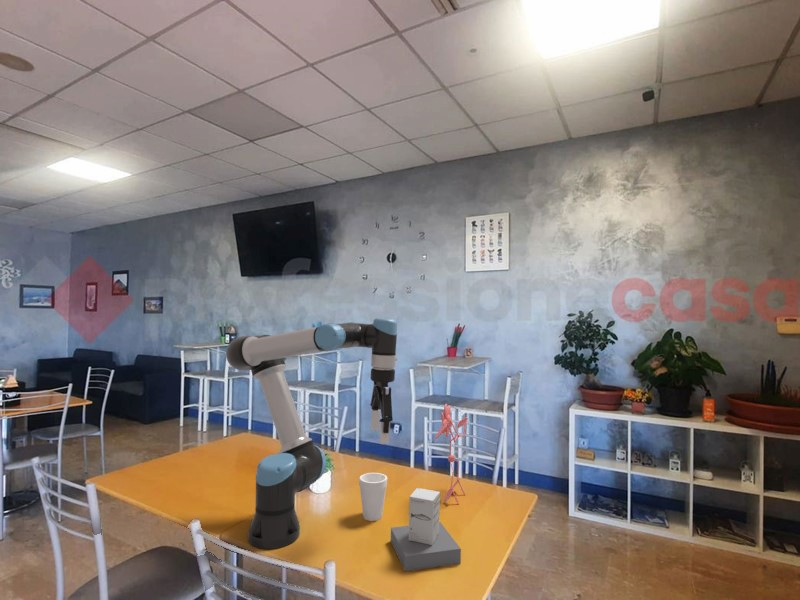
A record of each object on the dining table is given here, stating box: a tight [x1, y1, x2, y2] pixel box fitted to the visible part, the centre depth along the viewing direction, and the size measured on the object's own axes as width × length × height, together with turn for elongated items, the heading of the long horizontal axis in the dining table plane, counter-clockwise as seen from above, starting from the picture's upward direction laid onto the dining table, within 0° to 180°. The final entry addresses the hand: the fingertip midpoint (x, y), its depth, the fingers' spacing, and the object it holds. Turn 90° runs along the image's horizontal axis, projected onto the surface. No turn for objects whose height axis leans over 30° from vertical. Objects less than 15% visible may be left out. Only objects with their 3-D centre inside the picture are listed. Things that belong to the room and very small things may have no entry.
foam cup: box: [358, 472, 388, 522], centre depth 147 cm, size 10×9×13 cm
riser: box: [390, 521, 462, 572], centre depth 125 cm, size 16×16×4 cm
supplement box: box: [408, 487, 441, 545], centre depth 126 cm, size 7×7×13 cm
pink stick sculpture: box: [431, 403, 471, 505], centre depth 165 cm, size 15×26×35 cm, turn 157°
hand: (379, 436), depth 134 cm, fingers open, 13 cm apart
